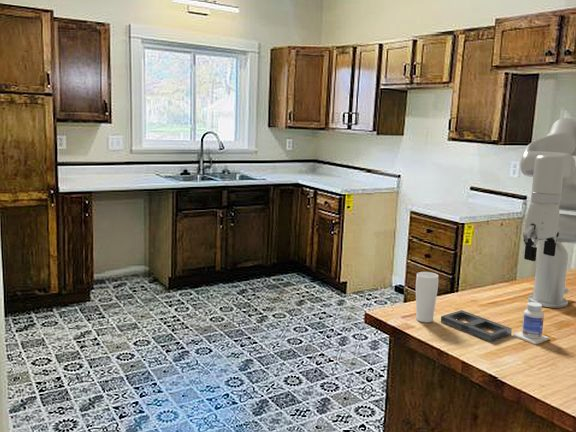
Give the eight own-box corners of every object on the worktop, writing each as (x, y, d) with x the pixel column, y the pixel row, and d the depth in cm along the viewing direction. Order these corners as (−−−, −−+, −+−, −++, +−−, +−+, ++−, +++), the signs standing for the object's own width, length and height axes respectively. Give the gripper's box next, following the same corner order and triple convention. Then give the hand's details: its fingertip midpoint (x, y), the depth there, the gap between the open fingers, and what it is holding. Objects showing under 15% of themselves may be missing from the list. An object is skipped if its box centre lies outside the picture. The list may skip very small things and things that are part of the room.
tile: (526, 331, 164) (526, 329, 164) (548, 339, 158) (549, 337, 158) (513, 336, 160) (513, 334, 160) (535, 344, 154) (535, 342, 154)
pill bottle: (543, 340, 156) (547, 308, 154) (523, 338, 157) (527, 306, 155) (539, 332, 161) (542, 301, 159) (519, 331, 162) (523, 300, 160)
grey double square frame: (461, 315, 175) (461, 310, 175) (511, 334, 161) (511, 328, 161) (440, 322, 170) (441, 316, 169) (490, 342, 155) (491, 335, 155)
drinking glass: (439, 320, 172) (442, 274, 169) (428, 326, 167) (432, 279, 164) (420, 314, 176) (423, 270, 173) (409, 320, 171) (412, 274, 168)
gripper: (549, 194, 159) (543, 250, 163) (515, 199, 150) (509, 259, 153) (575, 198, 153) (568, 256, 157) (541, 203, 144) (534, 265, 147)
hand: (539, 257), depth 155 cm, fingers open, 9 cm apart
